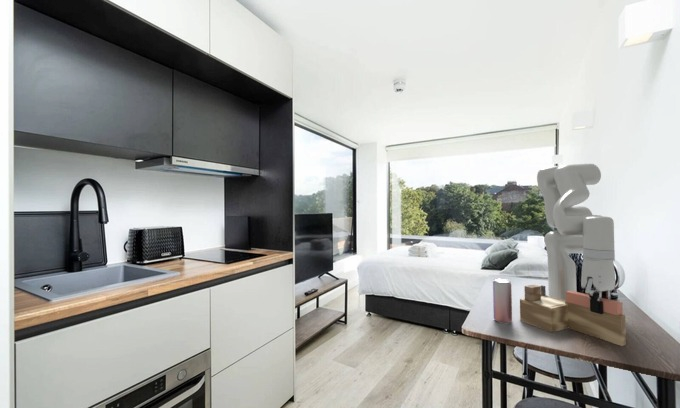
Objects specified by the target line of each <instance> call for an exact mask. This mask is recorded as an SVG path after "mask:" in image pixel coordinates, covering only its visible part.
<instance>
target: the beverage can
mask: <svg viewBox="0 0 680 408" xmlns="http://www.w3.org/2000/svg"><path fill="white" fill-rule="evenodd" d="M492 289H493V290H492V296H493V297H492V298H493V299H492V300H493V304H492V305H493V320H494V321H495V322H497V323H499V324H506V325H510V324H511V323H512V322H513V301H512V300H513V298H512V297H513V295H512V282H511V280H509V279H505V278H494V279H493V281H492Z"/></svg>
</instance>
